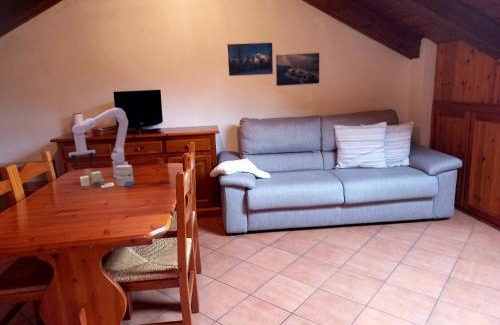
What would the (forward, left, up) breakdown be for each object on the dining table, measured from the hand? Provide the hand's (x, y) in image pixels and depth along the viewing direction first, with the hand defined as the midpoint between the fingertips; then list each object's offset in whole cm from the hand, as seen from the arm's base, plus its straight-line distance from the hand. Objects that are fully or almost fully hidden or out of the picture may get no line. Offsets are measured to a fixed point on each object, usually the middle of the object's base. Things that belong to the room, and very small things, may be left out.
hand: (84, 166), depth 211 cm
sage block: (-6, +12, -7) cm, 15 cm away
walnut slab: (-6, +12, -10) cm, 17 cm away
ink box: (-21, +21, -11) cm, 32 cm away
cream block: (+1, +6, -10) cm, 12 cm away
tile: (-11, +16, -10) cm, 22 cm away
